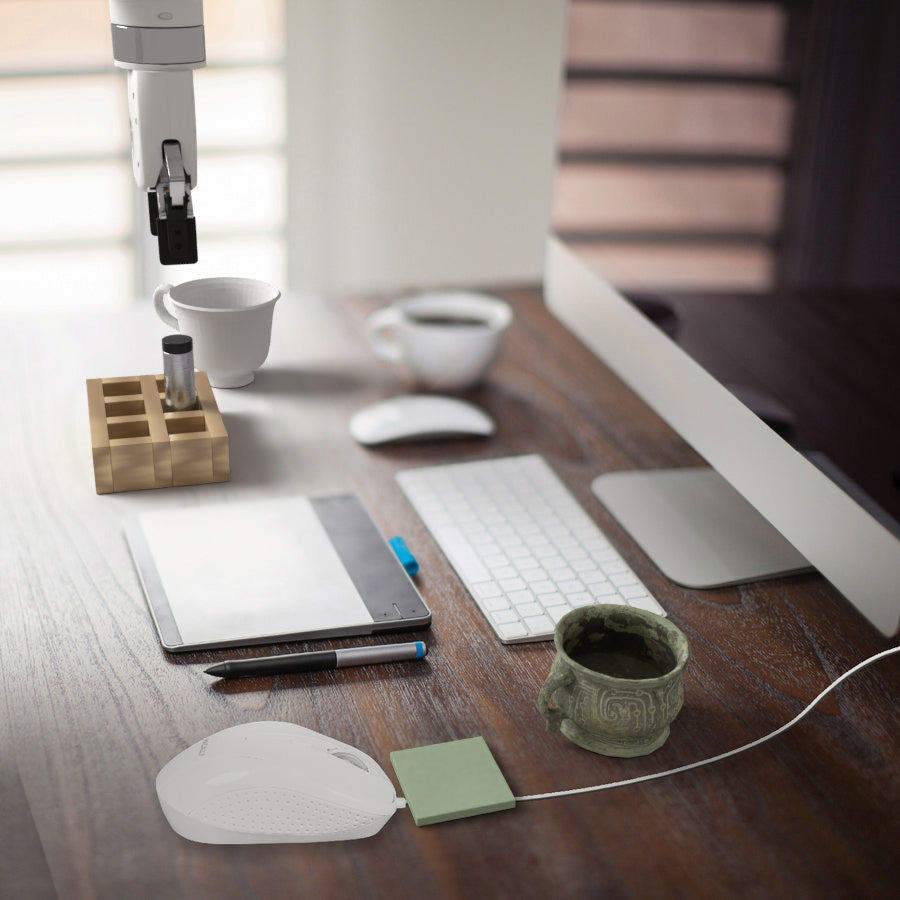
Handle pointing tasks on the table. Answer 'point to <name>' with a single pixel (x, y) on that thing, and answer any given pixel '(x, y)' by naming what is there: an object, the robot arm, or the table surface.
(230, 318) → the teacup
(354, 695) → the table surface
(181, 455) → the desk rack
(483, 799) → the mat
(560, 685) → the vessel
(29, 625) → the table surface
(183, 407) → the steel peg
